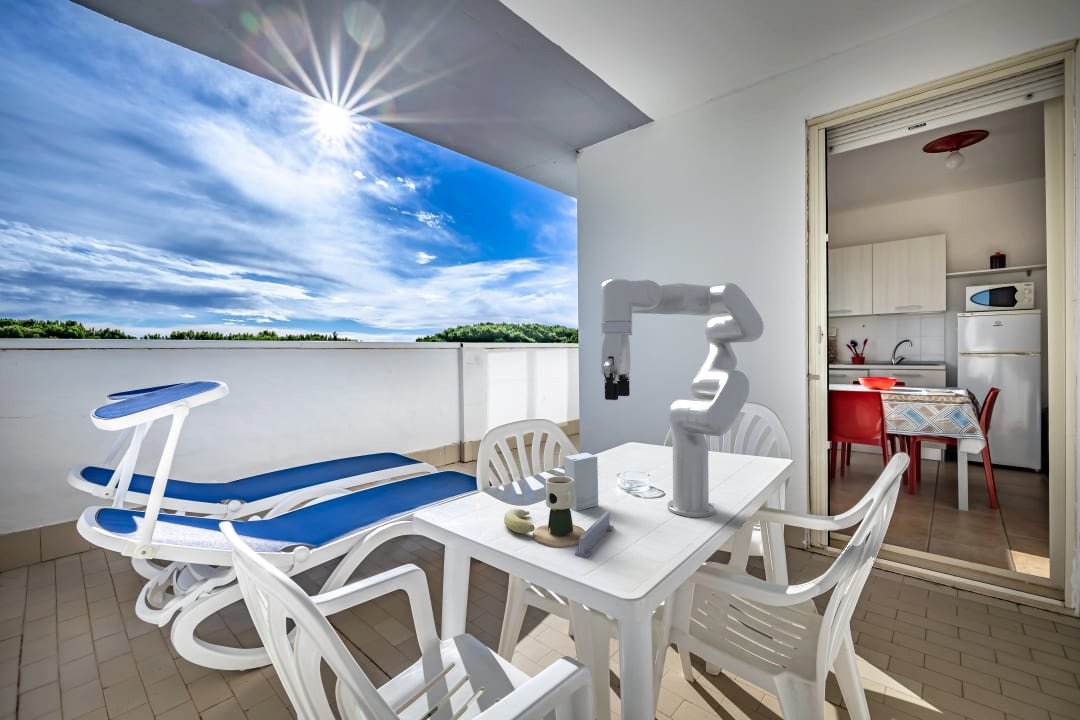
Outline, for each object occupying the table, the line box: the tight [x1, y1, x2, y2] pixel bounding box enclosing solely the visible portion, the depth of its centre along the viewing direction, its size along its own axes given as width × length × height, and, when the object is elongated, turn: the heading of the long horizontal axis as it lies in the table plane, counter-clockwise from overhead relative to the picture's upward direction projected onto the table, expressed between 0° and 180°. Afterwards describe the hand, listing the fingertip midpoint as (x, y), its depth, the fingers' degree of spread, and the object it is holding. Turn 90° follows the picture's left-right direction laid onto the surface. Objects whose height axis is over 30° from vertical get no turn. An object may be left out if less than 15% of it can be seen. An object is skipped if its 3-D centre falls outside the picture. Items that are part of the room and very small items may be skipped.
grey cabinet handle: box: [574, 511, 615, 559], centre depth 107 cm, size 18×3×4 cm, turn 153°
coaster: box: [532, 523, 586, 548], centre depth 110 cm, size 13×13×1 cm
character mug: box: [545, 475, 575, 535], centre depth 110 cm, size 11×7×13 cm, turn 25°
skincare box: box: [563, 452, 599, 512], centre depth 131 cm, size 8×6×15 cm
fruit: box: [503, 508, 536, 535], centre depth 116 cm, size 7×15×3 cm, turn 7°
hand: (617, 397), depth 113 cm, fingers open, 9 cm apart
